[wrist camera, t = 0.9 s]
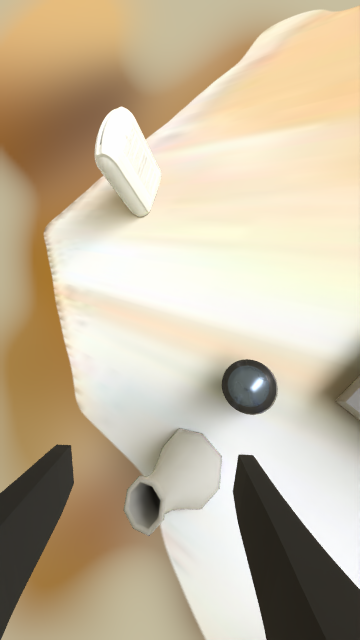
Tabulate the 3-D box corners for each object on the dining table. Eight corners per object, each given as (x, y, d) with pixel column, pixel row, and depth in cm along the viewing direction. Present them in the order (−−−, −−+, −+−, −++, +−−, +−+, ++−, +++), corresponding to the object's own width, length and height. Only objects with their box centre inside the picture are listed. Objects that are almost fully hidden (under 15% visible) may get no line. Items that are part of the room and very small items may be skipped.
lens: (286, 388, 23) (291, 386, 17) (255, 421, 23) (250, 428, 17) (250, 357, 25) (245, 347, 20) (223, 387, 25) (209, 385, 20)
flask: (150, 476, 25) (85, 519, 16) (177, 416, 26) (129, 427, 17) (206, 523, 22) (161, 610, 13) (233, 452, 23) (210, 488, 14)
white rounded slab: (146, 176, 43) (104, 102, 32) (165, 172, 41) (127, 92, 30) (132, 218, 41) (81, 154, 30) (151, 216, 39) (104, 147, 28)
